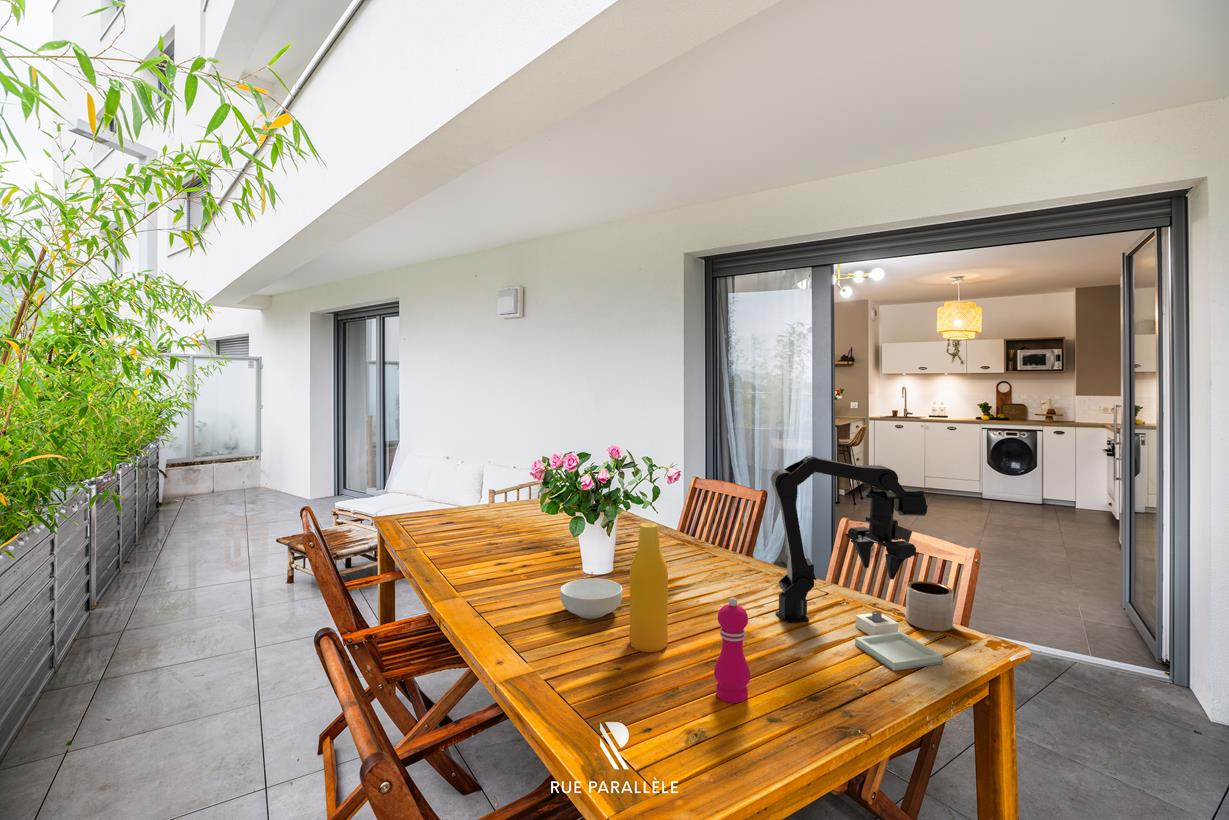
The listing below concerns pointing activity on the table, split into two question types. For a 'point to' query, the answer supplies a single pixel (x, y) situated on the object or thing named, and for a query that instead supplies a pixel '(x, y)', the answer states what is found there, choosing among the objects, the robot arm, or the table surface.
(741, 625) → the pepper mill
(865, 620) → the white block
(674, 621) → the table surface
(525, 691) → the table surface
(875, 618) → the post
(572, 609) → the cereal bowl
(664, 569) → the beer bottle
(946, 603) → the planter
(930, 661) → the tray
